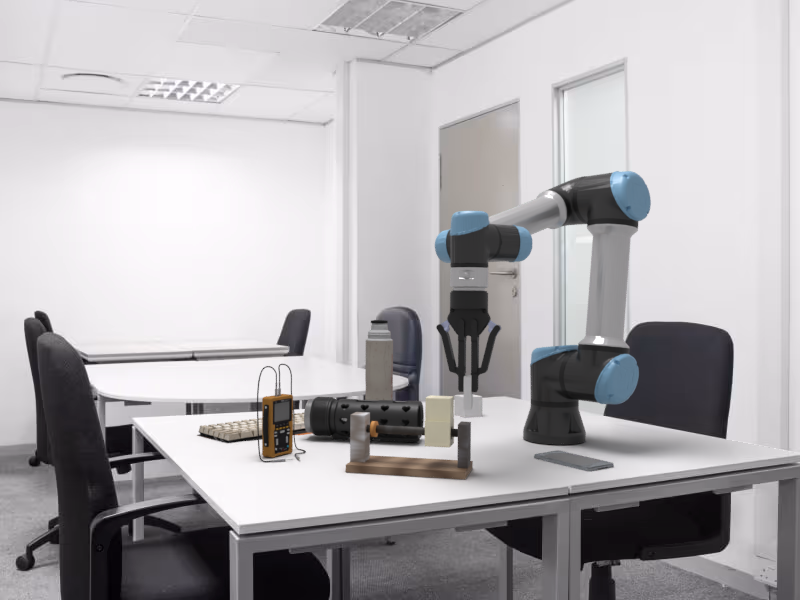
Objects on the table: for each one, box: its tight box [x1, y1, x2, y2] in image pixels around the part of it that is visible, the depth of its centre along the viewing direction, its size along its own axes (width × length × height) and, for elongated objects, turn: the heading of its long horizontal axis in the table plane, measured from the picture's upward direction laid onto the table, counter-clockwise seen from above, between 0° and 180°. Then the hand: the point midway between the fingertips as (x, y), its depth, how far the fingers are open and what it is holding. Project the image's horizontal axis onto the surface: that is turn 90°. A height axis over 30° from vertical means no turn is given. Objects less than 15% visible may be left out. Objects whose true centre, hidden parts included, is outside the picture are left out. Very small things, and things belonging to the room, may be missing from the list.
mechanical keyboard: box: [196, 412, 314, 445], centre depth 203 cm, size 38×19×3 cm, turn 134°
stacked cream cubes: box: [424, 395, 455, 448], centre depth 157 cm, size 5×5×10 cm
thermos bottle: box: [364, 319, 394, 401], centre depth 228 cm, size 8×8×28 cm
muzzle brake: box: [303, 396, 425, 443], centre depth 190 cm, size 10×28×10 cm, turn 78°
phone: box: [533, 450, 614, 472], centre depth 167 cm, size 8×16×1 cm, turn 35°
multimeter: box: [256, 363, 306, 463], centre depth 170 cm, size 15×10×20 cm
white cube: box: [454, 393, 483, 419], centre depth 230 cm, size 6×6×6 cm
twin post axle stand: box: [345, 412, 474, 480], centre depth 158 cm, size 24×10×11 cm, turn 77°
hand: (468, 408), depth 155 cm, fingers closed
